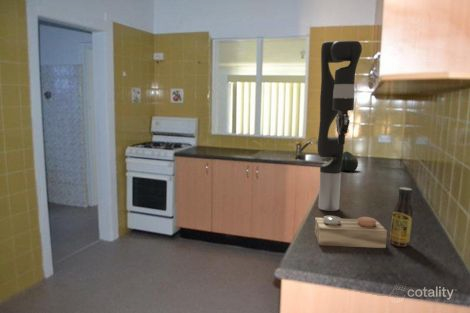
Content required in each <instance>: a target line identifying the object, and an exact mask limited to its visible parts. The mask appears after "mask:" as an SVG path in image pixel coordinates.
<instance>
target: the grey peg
mask: <svg viewBox="0 0 470 313" xmlns="http://www.w3.org/2000/svg"><path fill="white" fill-rule="evenodd" d="M322 218H323V223H324V224H326V225H331V226H338V225H340V224H341V219H342V218H341V217H339V216H336V215H324V216H323V217H322Z"/></svg>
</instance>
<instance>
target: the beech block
mask: <svg viewBox="0 0 470 313" xmlns="http://www.w3.org/2000/svg"><path fill="white" fill-rule="evenodd" d="M314 218H315V219H314V235H315V237H316V240H317V243H318V245H319V246H329V247H330V246H333V247H356V248H377V249H385V248H386V247H387V233H388V231H387V229H386V228H385V227H384V226H383V225H382V224H381V223H380V222H379V221H378V220H377V219H376V226H375V227H361V225H359V224H358V218H341V224H340V225H338V226H331V225H326V224H324V223H323V217H314Z"/></svg>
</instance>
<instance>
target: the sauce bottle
mask: <svg viewBox="0 0 470 313" xmlns="http://www.w3.org/2000/svg"><path fill="white" fill-rule="evenodd" d="M412 193H413V189H412V188H410V187H405V186H404V187H403V186H402V187H398V199H397V202H396V203H395V204H394V207H393V211H392V217H391V224H390V225H391V226H390V233H389V234H390V235H389V243H390V244H391V245H393V246H396V247H400V248H404V247H408V246H409V244H410V240H411V232H412V231H411V230H412V222H413V213H414V210H413V209H414V208H413V206H412V204H411V200H412V199H411V198H412Z"/></svg>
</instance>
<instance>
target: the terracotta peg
mask: <svg viewBox="0 0 470 313" xmlns="http://www.w3.org/2000/svg"><path fill="white" fill-rule="evenodd" d="M357 219H358V224H359V225H361V227H375V226H376V220H377V219H375V218H373V217H369V216H360V217H358V218H357Z"/></svg>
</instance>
